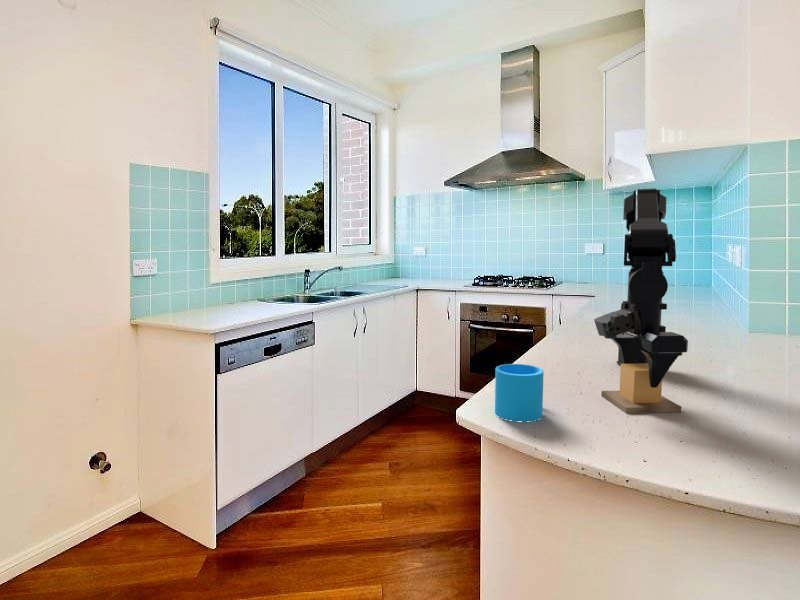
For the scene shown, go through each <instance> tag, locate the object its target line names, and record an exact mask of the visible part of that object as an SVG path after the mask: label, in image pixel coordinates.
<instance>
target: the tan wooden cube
mask: <svg viewBox="0 0 800 600" xmlns="http://www.w3.org/2000/svg"><path fill="white" fill-rule="evenodd" d="M662 386H663V379H662V380H661V382H660V384H659V385H658V387H656V388H652V387H650V381H649V367H648V363H637V364H621V365H620V373H619V390H618V391H619V394H620V395H621V396H623V397H624V398H626V399H627V400H629V401H631V402H632V403H656V402H661V396H662V388H663V387H662Z"/></svg>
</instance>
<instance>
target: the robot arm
mask: <svg viewBox="0 0 800 600" xmlns="http://www.w3.org/2000/svg"><path fill="white" fill-rule="evenodd" d="M666 215H667V197H666V196H665V195H664V194H662V193H661V189H657V188H638V189H636V190H633V193H631V195H629V196H627V197H625V198H624V200H623V217H622V218H623V219H622V220H623V221H626V225H625V227H626V229H627V232H628V233H625V234H624V243H623V245H624V247H623V249H624V250H623V267H625V266H626V267H627V266H628V267H630V269H629V271H628V277H627V278H628V280H627V281H628V282H627V283H628V284H627V300H622V303H621V304H620V309H618V310H615V311H612V312H609V313H605V314H603V315H601V316H598V317H596V318H594V319H593V321H594V323H595V328H596V330H597V333H598V336H602V337H604V338H605V339H607V340H608V339H610V340H612V341H613V343H614V344H616V346H617V347H618V350H617V351H618V353H617V356H618V357H617V361H616V364H618V365H619V366H621V364H637V363H648V367H649V381H650V387H652V388H656V387H658V385H659V384H660V382H661V380H662V381H663V379H664V378H665V376H666V374H667V373H668V371H669V370H670V368H671V367H672V365H673V364H674V363H675V361H676V360H677V359H678V358H679V356H682V355H683V353H687V352H688V347H689V341H688V339H687V338H686V337H685V336H684V335H683V334H680V333H676V332H673V331H666V330H667V329H666V328H667V326H666V325H662V311H663V310H668V303H665V302H663V297H665V295H666V294H667V292H668V287H669V284H668V280H667V278H666V275H664V274H665V273H664V271H663V267H673V263H676V259H677V252H676V251H677V249H676V239H674V236H673V235H674V234H672V233H669V230H668V224H667V223H665V222H664V221H662V220H665V218H666Z"/></svg>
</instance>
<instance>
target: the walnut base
mask: <svg viewBox="0 0 800 600" xmlns="http://www.w3.org/2000/svg"><path fill="white" fill-rule="evenodd" d="M619 391H620V390H601V392H600V393H601V397H602V398H604V399H605V400H606V401H608V402H609V403H611V404H612V405H613V406H614V407H617V408H618V409H619V410H620V411H622V412H624V413H625V414H641V413H642V414H643V413H647V414H648V413H649V414H651V413H657V414H658V413H682V406H681V405H679V404H677V403H676V402H674V401H673V400H671V399H668V398H667V397H665V396H663V395H661V402H656V403H632V402H631V401H629V400H627V399H626V398H624V397H623V396H621V395H620V394H619Z"/></svg>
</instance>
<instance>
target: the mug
mask: <svg viewBox="0 0 800 600" xmlns="http://www.w3.org/2000/svg"><path fill="white" fill-rule="evenodd" d="M494 378H495V385H494V390H495V391H494V415H495V414H496V415H497V416H499V417H501V418H503V419H507V420H512V421H522V422H527V421H535V420H538V419H540V418H541V419H542V418H543V404H544V402H543V399H544V370H543V368H541V367H539V366H535V365H531V364H523V363H507V364H500V365H498V366H496V367H495V377H494ZM496 415H495V416H496ZM497 416H496V417H497ZM503 419H502V420H503ZM541 419H540V420H541ZM538 421H539V420H538ZM535 422H536V421H535Z"/></svg>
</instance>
